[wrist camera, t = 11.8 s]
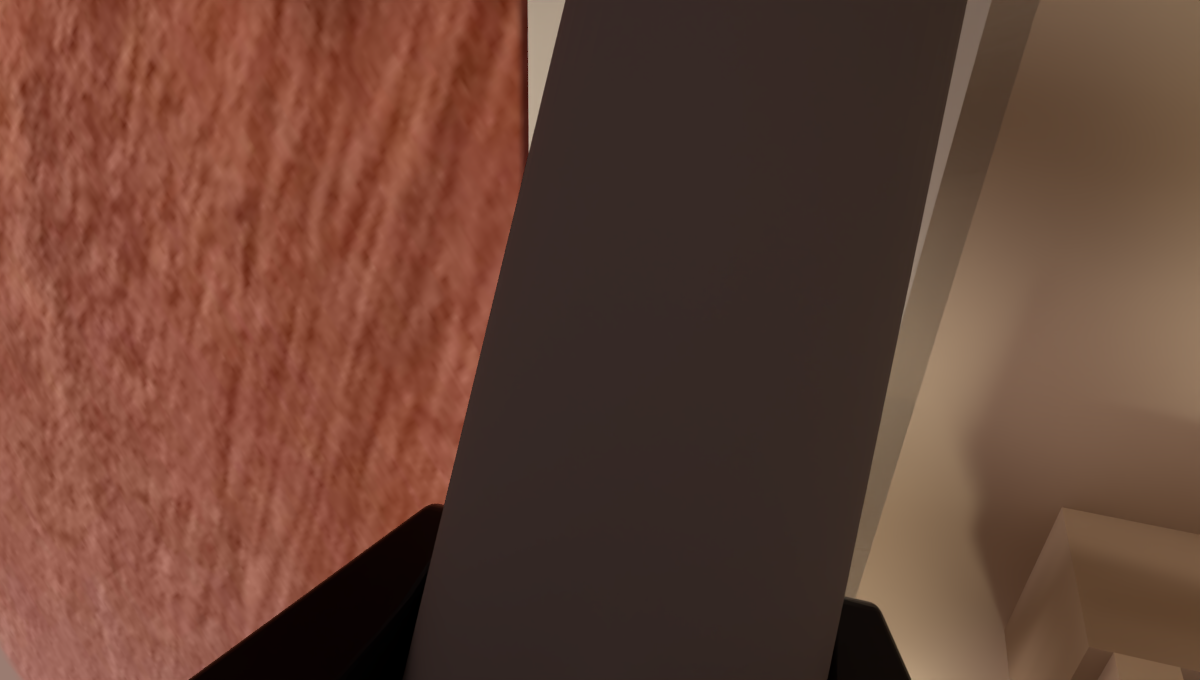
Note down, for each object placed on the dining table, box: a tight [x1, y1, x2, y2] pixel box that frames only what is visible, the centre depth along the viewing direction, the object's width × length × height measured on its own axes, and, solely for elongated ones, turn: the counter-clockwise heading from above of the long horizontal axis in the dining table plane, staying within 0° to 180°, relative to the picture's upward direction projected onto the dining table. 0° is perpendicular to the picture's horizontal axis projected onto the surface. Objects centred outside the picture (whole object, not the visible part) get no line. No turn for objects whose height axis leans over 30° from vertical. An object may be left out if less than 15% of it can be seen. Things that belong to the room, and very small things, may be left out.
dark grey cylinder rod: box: [402, 0, 968, 680], centre depth 7 cm, size 19×3×3 cm
